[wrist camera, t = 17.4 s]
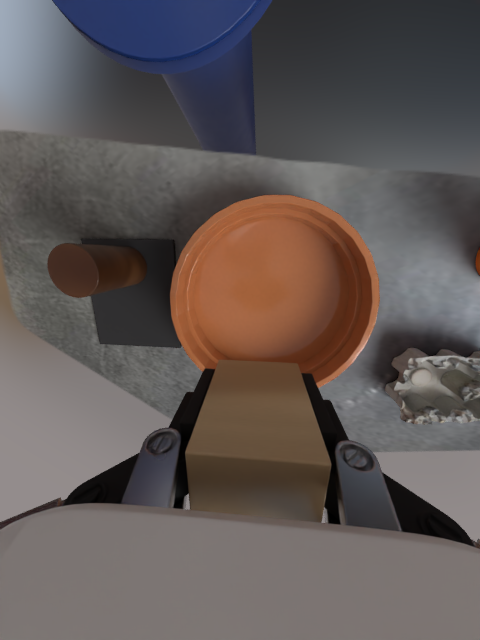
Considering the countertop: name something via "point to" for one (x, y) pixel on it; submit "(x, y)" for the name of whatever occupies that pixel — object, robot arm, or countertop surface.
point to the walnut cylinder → (94, 268)
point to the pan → (276, 287)
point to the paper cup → (478, 262)
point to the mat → (139, 299)
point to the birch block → (258, 445)
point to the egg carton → (436, 387)
